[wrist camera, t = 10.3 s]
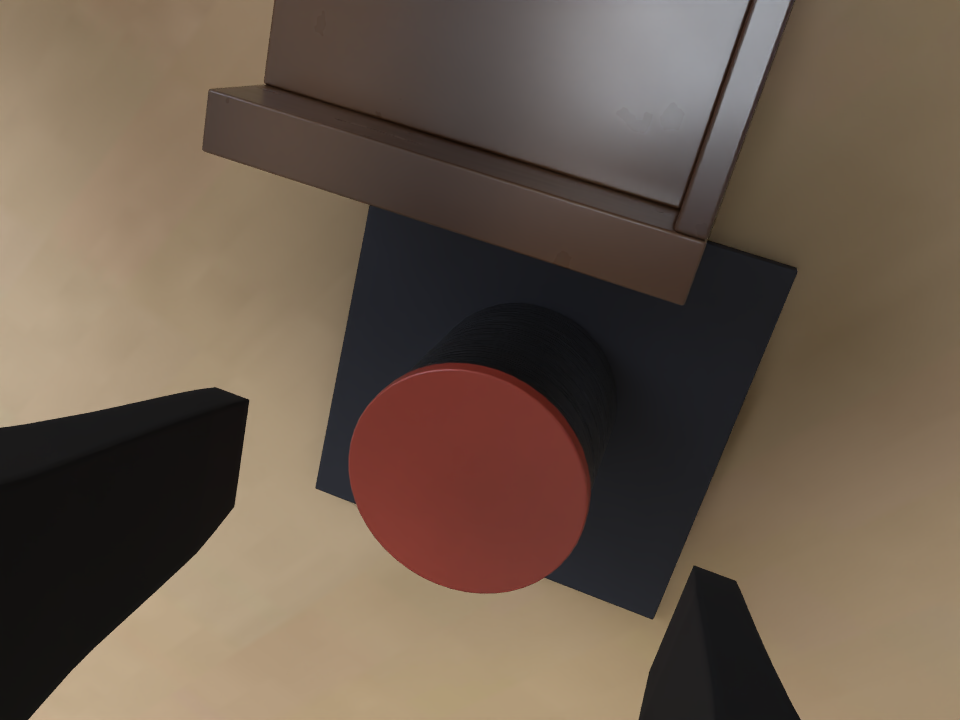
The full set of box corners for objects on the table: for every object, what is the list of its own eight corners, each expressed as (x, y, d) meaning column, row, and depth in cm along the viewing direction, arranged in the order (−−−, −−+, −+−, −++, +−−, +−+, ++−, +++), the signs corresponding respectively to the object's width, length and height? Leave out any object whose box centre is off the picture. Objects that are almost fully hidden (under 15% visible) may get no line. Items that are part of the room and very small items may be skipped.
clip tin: (648, 337, 20) (621, 421, 16) (588, 510, 22) (548, 629, 18) (452, 271, 21) (372, 334, 16) (411, 444, 23) (329, 541, 18)
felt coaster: (797, 267, 19) (798, 271, 19) (654, 613, 23) (652, 620, 23) (385, 140, 21) (381, 142, 20) (319, 483, 25) (314, 488, 24)
